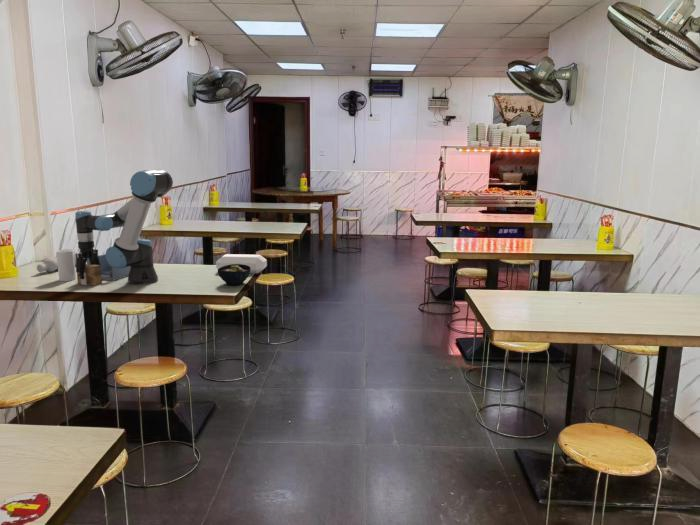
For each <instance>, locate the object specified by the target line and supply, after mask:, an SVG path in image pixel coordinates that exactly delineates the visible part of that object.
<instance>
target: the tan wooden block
mask: <svg viewBox="0 0 700 525" xmlns="http://www.w3.org/2000/svg"><path fill="white" fill-rule="evenodd" d="M84 273H86V281H87V285H90V286H91V285H92V286H99V285H102V284H103V280H102V276H103V275H102V276H101V265H91V264H87V263H86V266H85V271H84ZM76 280H77V284H80V285H82V284H81V279H80V273H78V272H76Z"/></svg>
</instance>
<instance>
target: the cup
mask: <svg viewBox="0 0 700 525" xmlns="http://www.w3.org/2000/svg"><path fill="white" fill-rule="evenodd" d="M73 251H74V249H71V248H70V249H66V248H65V249H59V250H56V252H55V254H56V257H57V263H58V270H57V271H58V280H59V281H60V282H70V281H75V280H77V272H76V266H75V262H74V252H73Z"/></svg>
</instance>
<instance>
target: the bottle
mask: <svg viewBox="0 0 700 525" xmlns="http://www.w3.org/2000/svg"><path fill="white" fill-rule="evenodd" d="M73 252H74V262H75V267H76V255H75V254H76V253H77V254H78V253H80V250H76V249H75V250H73ZM36 270H37V271H38V272H39V273H43V272H49V273H53V272H55V271H58V263H57V256H55V257H53V258H48V259H45V261H43V263H41V264H38V265H36Z"/></svg>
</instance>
